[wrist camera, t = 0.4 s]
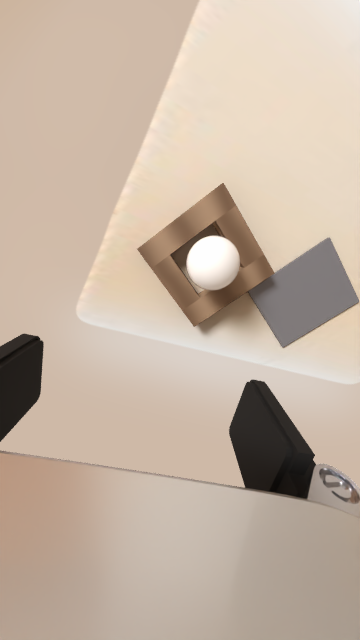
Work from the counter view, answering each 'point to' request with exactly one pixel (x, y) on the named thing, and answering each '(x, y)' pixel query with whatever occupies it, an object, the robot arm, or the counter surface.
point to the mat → (304, 293)
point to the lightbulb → (213, 262)
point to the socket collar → (205, 212)
